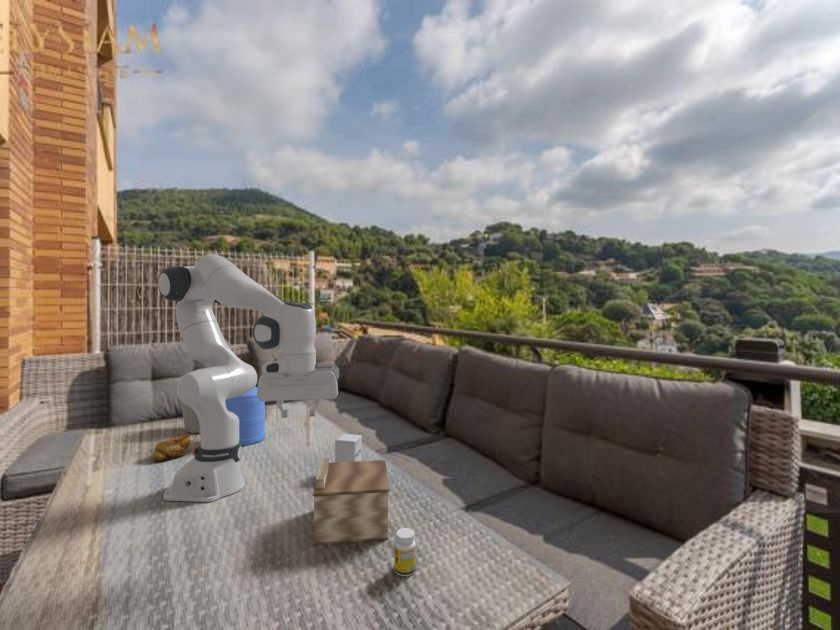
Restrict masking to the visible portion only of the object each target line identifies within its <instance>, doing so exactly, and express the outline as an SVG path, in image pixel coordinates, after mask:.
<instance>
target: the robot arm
mask: <svg viewBox="0 0 840 630" xmlns="http://www.w3.org/2000/svg"><path fill="white" fill-rule="evenodd" d="M157 285H158V291H159V293H160V295H161V296H162V297H163V298H164V299H165V300H167V301H173V302H177V304H176V305H175V314H176V315H175V316H176V322H177V326H178V330H179V332H180V335H181V338H182V341H183V344H184V347H185V349H186V353H187V355H188V356H189V357H190V358H191V359H193V360H195V361H198V362H199V363H201V364H203V365H204V366H205V367H203V368H198V369H196V370H193V371H190V372H187V373H185V374H183V375H182V376H180V378H179V380H178V382H177V386H176V393H177V396H178V399H179V400H180V402H181V401H182V402H183V403H184V404H185V405H187V406H189V407H191V408H192V409H193V410H194V412H195V413H196V415H197V417H198V420H199V424H200V433H199V437H200V442H199V443H198V444H197V445H196V447H195V448H194V449H193V451H192V452H191V453H192V454H191V456H194V457H193V458H192V459H191V460H189V461H188V462H187V463H186V464H184V465H183V466H182V467H181V468H179V469H178V471H177V472H176V474H174V477H173V480H172V484H170V486H168V487H167V488H166V490H165V491H164V492H163V497H162V499H163V501H167V502H168V501H169V502H170V501H171V502H195V503H196V502H197V503H200V502H202V503H210V502H214V501H216V500H219V499H220V498H222V497H227V496H229V495H232V494H235V493H236V492H237V493H238V491H241V489H243V488H244V486H245V485H246V481H245V478H244V475H243V471H242V463H241V458H242V446H241V441H240V440H239V418H238V416H237V415H236V414H234V413H232V412H230V411H228V410H227V408H226V403H225V400H226V399H230V398H234V397H238V396H241V395H243V394H245V393H247V392H249V391H251V390H253V389H254V388H255V387H257V398H258V399H259V400H260V401H265V402H276V407H277V409H279V411H280V418H281V419H282V418H284V419H285V418H288V417H289V409H287V408H285V407H284V405H283V404H284V402H285V401H310V400H311V401H313V404H314V407H313V408H309V417H310V418H311V417H312V418H313V417H316V416H317V409H318V408H319V406H320V404H321V400H334V399H336V398H337V397H338V395H339V387H338V386H339V385H338V379H339V378H340V368H339V367H338V366H337V365H335V364H334V363H317V350H316V347H315V343H316V342H315V340H316V338H317V334H318V327H317V324H316V323H317V322H316V320H317V319H316V315H315V310H314V308H313V306H311V305H310V304H308V303H305V302H298V301H285V300H283V299H282V298H281V297H279V296H278V295H277V294H275V293H274V292H272V291H270V290H269V289H267V288H266V287H264V285H263V286H262V285H261V284H260V283H258V282H257V281H255V280H254V279H252V278H251V277H250V276H249V275H247V274H246V273H244V271H242V270H241V269H240V268H239V267H238V266H236V264H234V263H233V262H231V261H229V260H228V259H227V258H226V257H223V256H222V255H219V254H217V253H208V254H205V255H203V256H201V257H200V258H199V259H197V261H196V263H195V265H187V266H186V265H185V266H184V265H183V266H179V265H177V266H171V267H166V268H164V269H163V270H162V271H161V272H160V273H159V275H158V277H157ZM214 303H216V304H221V305H223V306H226V307H229V308H235V309H244V310H252V311H256V312H260V313H263V314H266V315H261V316H260V317H259V318H258V319H257V320H256V321H255V323H254V325H253V329H252V337H253V340H254V342H255V344H256V345H257V346H258V348H260V349H262V350H267V351H275V350H281V351H280V358H276V359H273V360H270V361H267V362H266V363H264V364H263V365H262V366H261V372H262V374H261V375H260V377H259V378H258V373H257V371H256V369H255V367H254V366H252V365H251V364H249V363H246V362H244V361H243V360H242V359H241V358H239V357H238V356H237V354H235V352H234V351H233V350H232V349H231V348H230V346H229V345H228V344H227V342H226V340H225V337H224V336H223V333H222V330H221V328H220V326H219V323H218V320H217V317H216V316H215V314H214V311H213V306H214V305H213V304H214ZM256 385H257V386H256Z"/></svg>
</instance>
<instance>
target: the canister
mask: <svg viewBox="0 0 840 630" xmlns="http://www.w3.org/2000/svg"><path fill="white" fill-rule="evenodd" d="M180 405H181V412H182V419H183V425H184V430H185V431H186V432H188V433H190V434H200V424H199V420H198V417H197V415H196V413H195V412H194V410H193V409H192V408H191V407H189V406H187V405H185V404H184V403H183V402H182V401H181V400H180Z"/></svg>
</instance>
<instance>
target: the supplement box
mask: <svg viewBox="0 0 840 630" xmlns="http://www.w3.org/2000/svg"><path fill="white" fill-rule="evenodd" d="M362 437H363V435H362V434H352V433H349V434H348V433H343V434H341V435H340V436H339V437H338V438H336V439H335V440H334V444H335V445H334V463H336V462H356V461H363V459H362V457H363V455H362V454H363V453H362V451H363V449H362V447H363V446H362V445H363V443H362V441H363V439H362Z"/></svg>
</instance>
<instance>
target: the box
mask: <svg viewBox="0 0 840 630" xmlns="http://www.w3.org/2000/svg"><path fill="white" fill-rule="evenodd" d="M386 539H387V540H388V539H389V491H386V492H370V493H354V494H337V495H321V496H313V546H320V545H319V544H324V545H332V544H333V545H334V544H348V543H359V542H361V543H362V542H373V541H383V540H384V541H386Z"/></svg>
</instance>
